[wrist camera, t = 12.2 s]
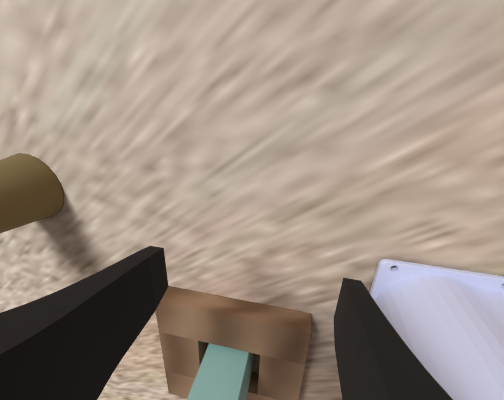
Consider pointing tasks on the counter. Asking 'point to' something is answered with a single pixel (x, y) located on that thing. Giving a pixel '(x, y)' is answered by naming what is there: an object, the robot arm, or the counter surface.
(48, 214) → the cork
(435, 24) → the counter surface
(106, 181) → the counter surface
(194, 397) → the teal peg
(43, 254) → the counter surface
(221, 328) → the walnut socket block
